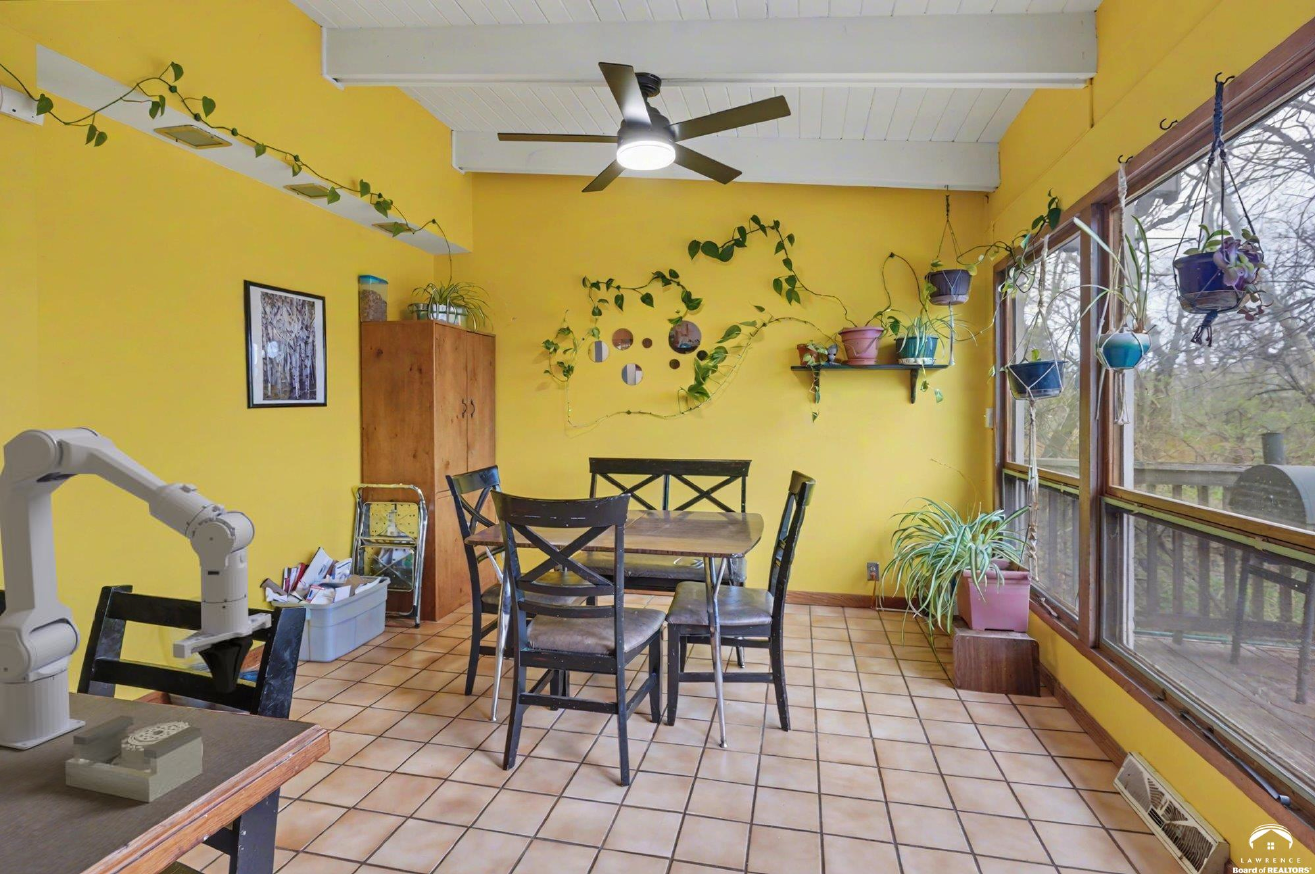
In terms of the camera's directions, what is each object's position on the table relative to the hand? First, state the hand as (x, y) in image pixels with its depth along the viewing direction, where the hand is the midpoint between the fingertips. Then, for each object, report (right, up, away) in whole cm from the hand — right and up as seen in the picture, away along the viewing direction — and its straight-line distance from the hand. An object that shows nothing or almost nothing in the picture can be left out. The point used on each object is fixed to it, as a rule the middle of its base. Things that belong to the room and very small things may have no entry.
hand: (226, 690), depth 101 cm
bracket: (-4, -7, -13) cm, 15 cm away
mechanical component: (-3, -7, -9) cm, 12 cm away
